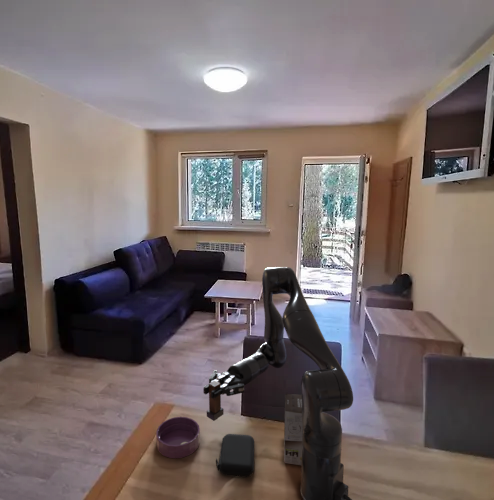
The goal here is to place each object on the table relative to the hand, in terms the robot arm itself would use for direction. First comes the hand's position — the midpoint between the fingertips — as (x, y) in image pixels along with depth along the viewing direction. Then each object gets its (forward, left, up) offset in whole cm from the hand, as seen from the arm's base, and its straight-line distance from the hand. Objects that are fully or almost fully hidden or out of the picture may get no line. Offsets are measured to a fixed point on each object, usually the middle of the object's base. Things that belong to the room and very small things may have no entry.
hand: (208, 393), depth 103 cm
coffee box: (-23, -13, -15) cm, 31 cm away
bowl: (+5, +8, -15) cm, 18 cm away
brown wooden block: (0, -3, -9) cm, 9 cm away
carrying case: (-12, +1, -15) cm, 19 cm away
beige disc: (+2, +8, -15) cm, 17 cm away
